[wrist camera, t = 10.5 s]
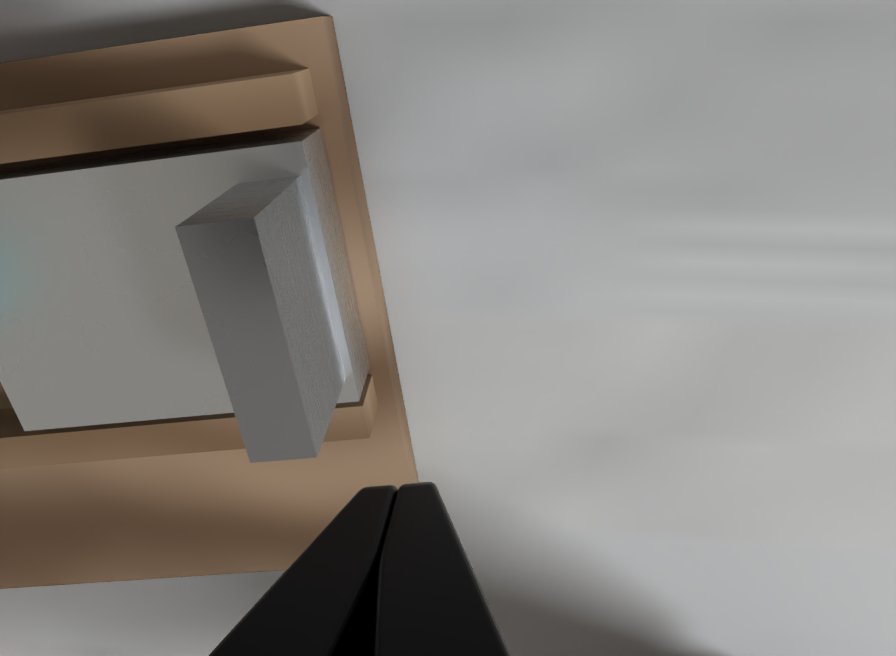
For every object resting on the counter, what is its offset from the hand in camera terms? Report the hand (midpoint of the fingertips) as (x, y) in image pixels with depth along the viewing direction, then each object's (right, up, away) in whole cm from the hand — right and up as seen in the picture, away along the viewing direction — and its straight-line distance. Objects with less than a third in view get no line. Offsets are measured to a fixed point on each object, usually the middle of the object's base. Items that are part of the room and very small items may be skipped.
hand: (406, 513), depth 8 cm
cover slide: (-7, +4, +9) cm, 12 cm away
